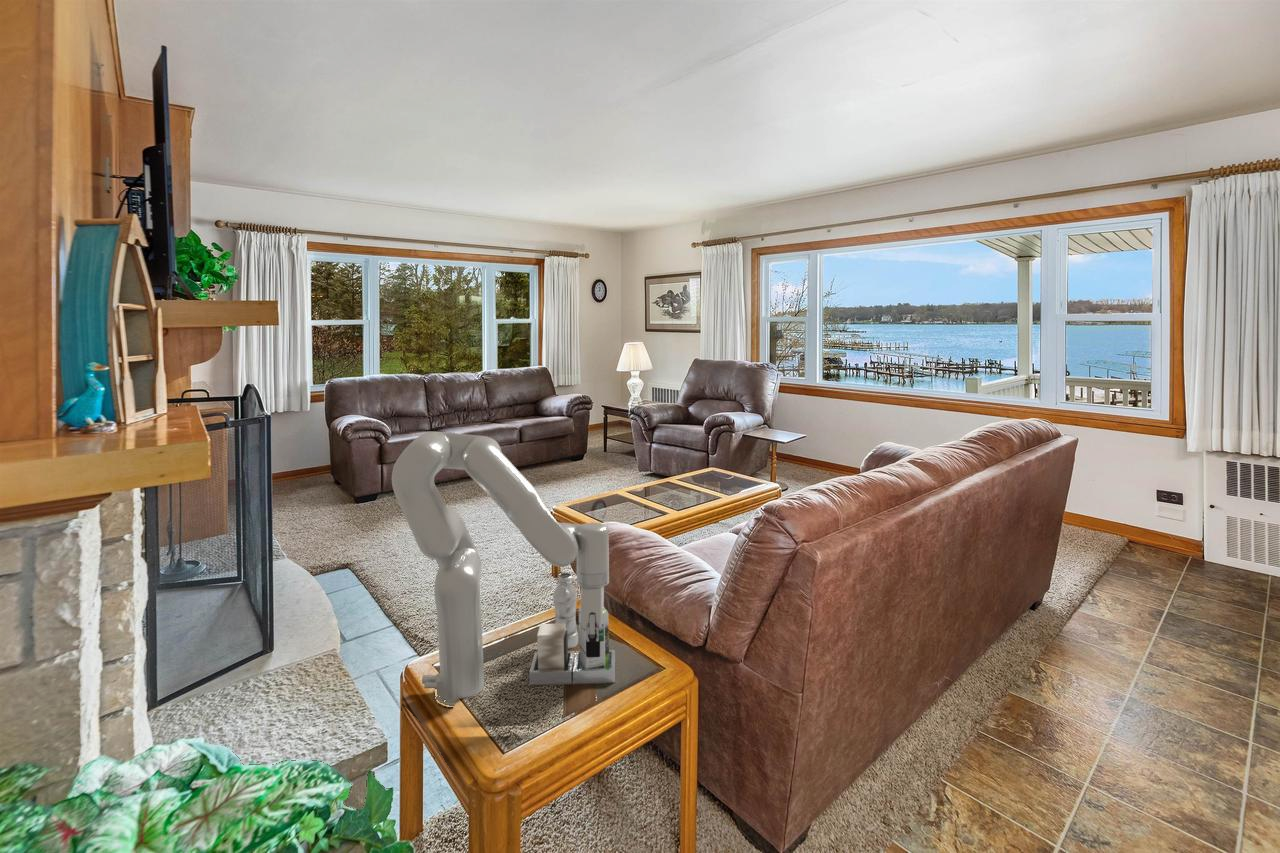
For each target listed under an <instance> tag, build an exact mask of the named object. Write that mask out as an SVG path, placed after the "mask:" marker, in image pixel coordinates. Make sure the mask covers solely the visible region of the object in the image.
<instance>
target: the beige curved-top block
mask: <svg viewBox="0 0 1280 853" xmlns="http://www.w3.org/2000/svg"><path fill="white" fill-rule="evenodd" d="M536 638H537V641H536V642H537V652H538V670H566V668H567V662H568V651H569V649H568V630H566V625H565V623H564V624H556V623H540V624H539V628H538V631H537V635H536Z"/></svg>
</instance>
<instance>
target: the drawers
mask: <svg viewBox="0 0 1280 853" xmlns="http://www.w3.org/2000/svg"><path fill="white" fill-rule="evenodd" d="M531 661H532V662H531V665H530V669H529V672H528V673H529V674H528V675H529V683H528V686H553V685H554V686H555V685H556V686H558V685H559V686H560V685H561V686H562V685H589V684H591V685H592V684H593V685H594V684H595V685H596V684H597V685H598V684H616V683H617V679H616V678H617V676H616V675H617V674H616V673H617V666H616V665H617V663H616V662H617V661H616V650H615V649H609V669H583V668H582V666H581V665H580V650H576V651H574V650H568V662H567V668H566V670H538V651H534V653H533V658H532V660H531Z"/></svg>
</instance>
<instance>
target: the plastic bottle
mask: <svg viewBox="0 0 1280 853" xmlns="http://www.w3.org/2000/svg"><path fill="white" fill-rule="evenodd" d="M572 583H573V578H572V574H571V573H569V572H562V573H559V574H558V575H557V586H556V587H555V589H554V591H553V595H552V602H553V605H554V614H555V617H554V618H555V624H564V623H565V625H566V630H568V650H570V649H572V648H575V647H576V646H578V644H579V631H578V630H577V620H576V616H577V615H576V613H577V602H578V592H577V590H576V588H575V586H573V584H572Z"/></svg>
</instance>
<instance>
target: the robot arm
mask: <svg viewBox="0 0 1280 853" xmlns="http://www.w3.org/2000/svg"><path fill="white" fill-rule="evenodd" d="M392 468H393V469H392V471H391V486H392V490H393V493H394V495H395V497H396V500H397V502H398V504H399V506H400V509H401V511H402V513H403V515H404V518H405V520H406V522H407V524H408V526H409V529H410V531H411V533H412V535H413V538H414V539H415V542H416V545H417V547H418V548H419V551H420V552H421V553H422V554H423V555H424V556H425V557H427V558H429V559H431V560H435V561H436V564H437V566H438V569H437V572H436V575H435V580H434V589H433V591H434V602H435V603H434V604H435V608H436V609H435V611H436V620H437V624H436V625H437V637H438V638H437V639H438V640H437V641H438V656H439V672H438V673H436V674H423V675H422V678H421V684H422V685H423V688H424V689H426V690H427V689H434V690H435V689H437V695H438V696H437V697H436V696H435V697H436V700H438V701H439V702H440V703H443V704H445V705H449V706H454V707H455V705H456V703H457V701H458V700H461V699H466V698H470V697H473V696H475V695H477V694H478V693H480V692H481V691H483V688H485V677H484V676H485V672H484V671H485V670H484V669H485V668H484V650H483V649H484V647H483V645H484V644H483V627H482V626H483V625H482V609H481V608H482V605H481V604H482V603H481V577H482V560H481V557H480V555H479V552H478V550H477V547H476V545H475V543H474V541H473V539H472V537H471V535H470V532H469V530H468V528H467V526H466V524H465V522H464V519H463V518H462V517H461V515H460V514H459V513H458V512H457V511H456V510H455V509H453V508H450V507H447V506H446V505H445V502H444V499H443V496H442V495H441V492H440V491H439V489H438V487H437V485H436V484H435V478H436V475H437V474H438V473H439V472H440V471H442V469H447V470H449V469H450V470H461V471H465V472H466V473H467V474H468V476H469V477H470V478H471V479H472V480H473V481H474V482H475V483H476V484H477V485H478V486H479V487H480V488H481V489H482V491H483V492H485V493H486V494H487V495H488V496H489V498H490V499H492V501H493V502H494V503H495V504H496V505H497V506H498V507H499V508H500V509H501V510H502V511H503V512H504V513H505V515H506V517H507V518H508V519H509V521H510V522H511V523H512V524H513V525H514V526H515V527H516V529H517V530H518V532H520V534H522V536H523V537H524V538H525V540H526V541H527V542H528V543H529V544H530V546H532V548H533V549H534V550H536V551H537V553H538V554H539V555H540V556H541V557H542V558H543V559H544V560H545V561H546V562H547V563H549V564H550V565H552V566H553V567H557V568H564V567H568V566H569V565H571V564H573V562H575V561H576V585H577V586H578V587H580V607H581V629H586V627H587V640H586V657H600V640H599V629H600V628H601V627H602V619H603V608H604V607H605V606H604V603H605V600H604V599H605V587H606V586H608V584H609V583H610V563H609V562H610V552H609V551H610V544H609V539H610V538H609V537H610V536H609V529H608V526H607V525H606V524H603V523H600V522H586V523H572V522H571V523H569V522H558V521H557V520H556V518H555V517H554V516H553V515H552V514H551V513H550V511H549V510H548V509H547V507H546V505H545V504H544V502H543V501H542V499H541V497H540V494H538V492H537V490H536V488H535V487H534V485H533V484H532V483H531V482H530V481H529V480H528V479H527V478H526V477H525V475H524V474H522V473H521V471H519V470H518V468H517V467H516V466H515V465H514V464H513V463H512V462H511V461H510V459H508V457H507V456H506V455H505V454H504V453H503V452H502V449H501V446H500V444H499V443H498V441H497V440H495V439H494V438H492V437H489V436H486V435H476V434H467V433H466V434H465V433H455V432H447V431H446V432H444V431H425V432H424V433H422V434H420V435H419V436H417V437H416V438H415V439H414V440H413V441H411V442H410V443H409V445H407V446H406V447H405V449H404V450H403V451H402V452H401V454H399V456H398V458H397V459H396V461H395V463H394V465H393V467H392ZM595 613H596V618H595ZM588 622H589V623H588ZM589 624H590V627H589ZM595 625H597V627H595ZM595 630H596V633H595ZM439 696H440V697H439ZM444 700H446V701H445V702H444Z"/></svg>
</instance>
